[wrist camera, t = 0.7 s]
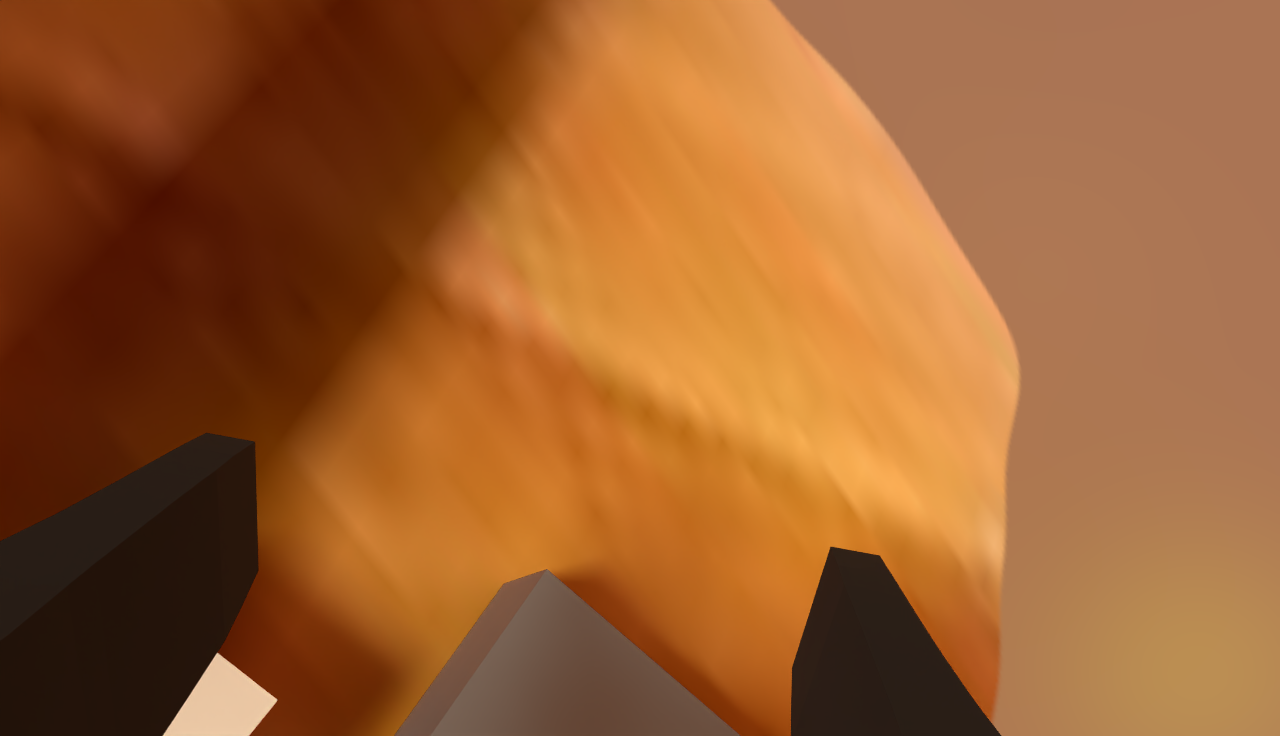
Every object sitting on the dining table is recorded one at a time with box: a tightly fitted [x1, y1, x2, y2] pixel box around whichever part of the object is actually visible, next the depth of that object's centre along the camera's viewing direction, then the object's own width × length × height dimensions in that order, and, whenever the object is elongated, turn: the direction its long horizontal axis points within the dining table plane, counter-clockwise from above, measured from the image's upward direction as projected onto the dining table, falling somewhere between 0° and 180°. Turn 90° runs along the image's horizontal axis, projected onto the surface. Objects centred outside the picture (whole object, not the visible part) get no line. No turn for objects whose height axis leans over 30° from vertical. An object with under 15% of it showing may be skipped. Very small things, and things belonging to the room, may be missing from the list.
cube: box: [163, 653, 277, 736], centre depth 21 cm, size 5×5×5 cm
